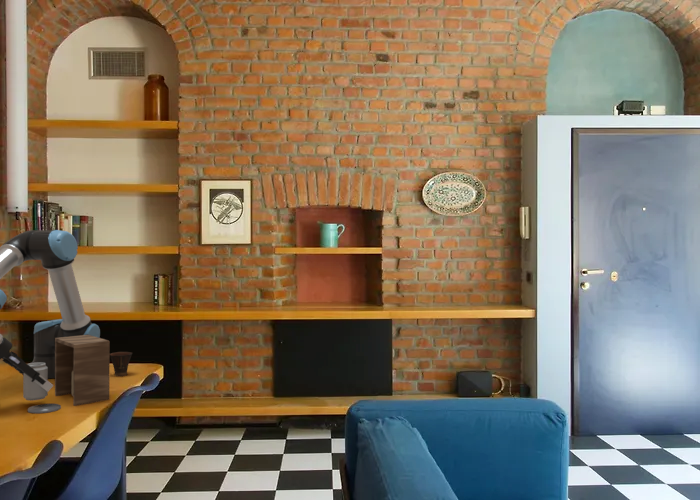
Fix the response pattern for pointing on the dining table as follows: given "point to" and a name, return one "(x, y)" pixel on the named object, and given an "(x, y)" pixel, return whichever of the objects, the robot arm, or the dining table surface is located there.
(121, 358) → the cup
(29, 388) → the can
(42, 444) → the dining table surface
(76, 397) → the wooden box
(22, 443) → the dining table surface
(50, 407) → the coaster
